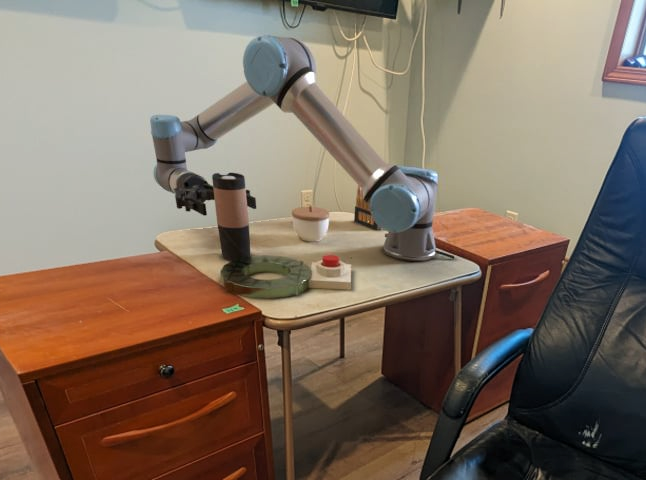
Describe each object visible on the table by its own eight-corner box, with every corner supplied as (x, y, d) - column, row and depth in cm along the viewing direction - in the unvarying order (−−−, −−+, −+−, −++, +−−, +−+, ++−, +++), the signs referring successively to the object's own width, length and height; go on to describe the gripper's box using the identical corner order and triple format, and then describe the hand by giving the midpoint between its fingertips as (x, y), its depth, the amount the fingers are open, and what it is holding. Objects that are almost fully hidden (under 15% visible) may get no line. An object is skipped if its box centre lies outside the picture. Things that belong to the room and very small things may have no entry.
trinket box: (299, 245, 147) (298, 212, 142) (288, 234, 155) (286, 201, 149) (334, 243, 152) (335, 210, 146) (321, 231, 159) (321, 200, 154)
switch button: (339, 263, 129) (339, 255, 128) (338, 269, 126) (338, 260, 124) (322, 262, 128) (322, 254, 127) (322, 268, 125) (322, 259, 124)
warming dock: (314, 267, 134) (314, 258, 133) (308, 300, 118) (307, 290, 116) (231, 262, 132) (230, 253, 130) (213, 295, 115) (211, 285, 113)
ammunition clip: (353, 221, 171) (355, 183, 164) (357, 221, 172) (359, 183, 165) (377, 230, 166) (379, 191, 159) (380, 229, 167) (383, 190, 160)
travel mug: (243, 263, 132) (235, 181, 121) (215, 258, 133) (205, 176, 121) (256, 254, 138) (250, 175, 127) (230, 250, 139) (221, 170, 128)
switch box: (350, 271, 134) (351, 256, 132) (350, 290, 125) (350, 274, 122) (312, 269, 133) (311, 254, 131) (308, 287, 123) (308, 271, 121)
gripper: (233, 196, 150) (274, 215, 138) (146, 206, 134) (184, 228, 123) (230, 168, 146) (272, 186, 134) (140, 175, 130) (179, 195, 119)
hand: (230, 206), depth 129 cm, fingers open, 13 cm apart
